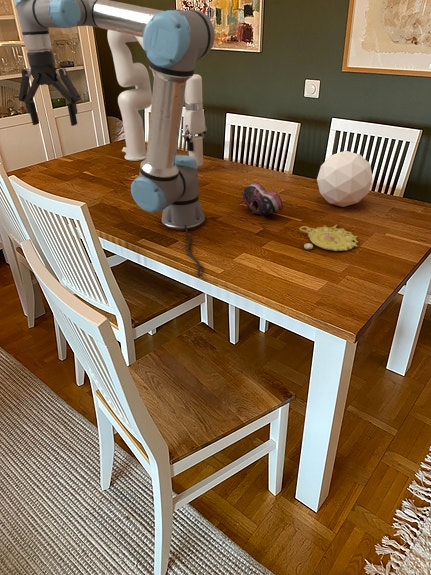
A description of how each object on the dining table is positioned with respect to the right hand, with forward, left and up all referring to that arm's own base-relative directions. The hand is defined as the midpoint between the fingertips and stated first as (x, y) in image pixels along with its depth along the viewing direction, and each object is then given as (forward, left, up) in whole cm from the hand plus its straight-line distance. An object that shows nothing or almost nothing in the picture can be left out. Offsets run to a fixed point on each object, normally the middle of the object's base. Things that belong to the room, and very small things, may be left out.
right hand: (55, 124), depth 144 cm
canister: (+44, -50, -30) cm, 73 cm away
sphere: (-8, -99, -33) cm, 104 cm away
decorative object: (-35, -83, -33) cm, 96 cm away
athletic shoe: (-8, -67, -33) cm, 75 cm away
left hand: (+44, -50, -23) cm, 70 cm away
